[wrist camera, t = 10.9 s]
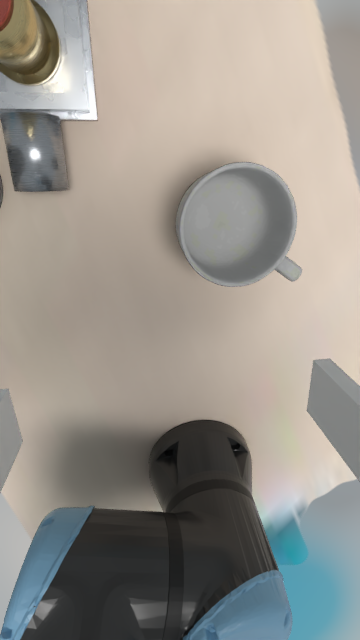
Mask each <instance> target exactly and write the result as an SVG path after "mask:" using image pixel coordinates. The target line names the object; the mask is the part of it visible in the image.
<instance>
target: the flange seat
mask: <svg viewBox="0 0 360 640" xmlns="http://www.w3.org/2000/svg"><path fill="white" fill-rule="evenodd" d="M35 1H36V2H37V3H38V4H39V5H40V6H41V7H42V8H43V9H44V10H45V11H46V12H47V14H48V15H49V17H50V19H51V20H52V22H53V24H54V26H55V28H56V30H57V33H58V36H59V40H60V46H61V56H60V62H59V65H58V68H57V70H56V72H55V74H54V75H53V76H52V77H51V78H50V79H49V80H48V81H46V82H45V83H43V84H40V85H36V86H26V85H21V84H19V83H16V82H15V81H13V80H11V79H10V78H8V77H7V76H5V75H4V74H3V73H2V72H1V71H0V120H1V123H2V128H3V133H4V138H5V144H6V149H7V154H8V159H9V165H10V170H11V175H12V180H13V185H14V191H26V192H33V191H62V190H69V187H68V179H67V171H66V163H65V156H64V148H63V140H62V133H61V125H60V120H98V116H97V105H96V94H95V83H94V72H93V61H92V50H91V39H90V28H89V17H88V6H87V0H35Z"/></svg>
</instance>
